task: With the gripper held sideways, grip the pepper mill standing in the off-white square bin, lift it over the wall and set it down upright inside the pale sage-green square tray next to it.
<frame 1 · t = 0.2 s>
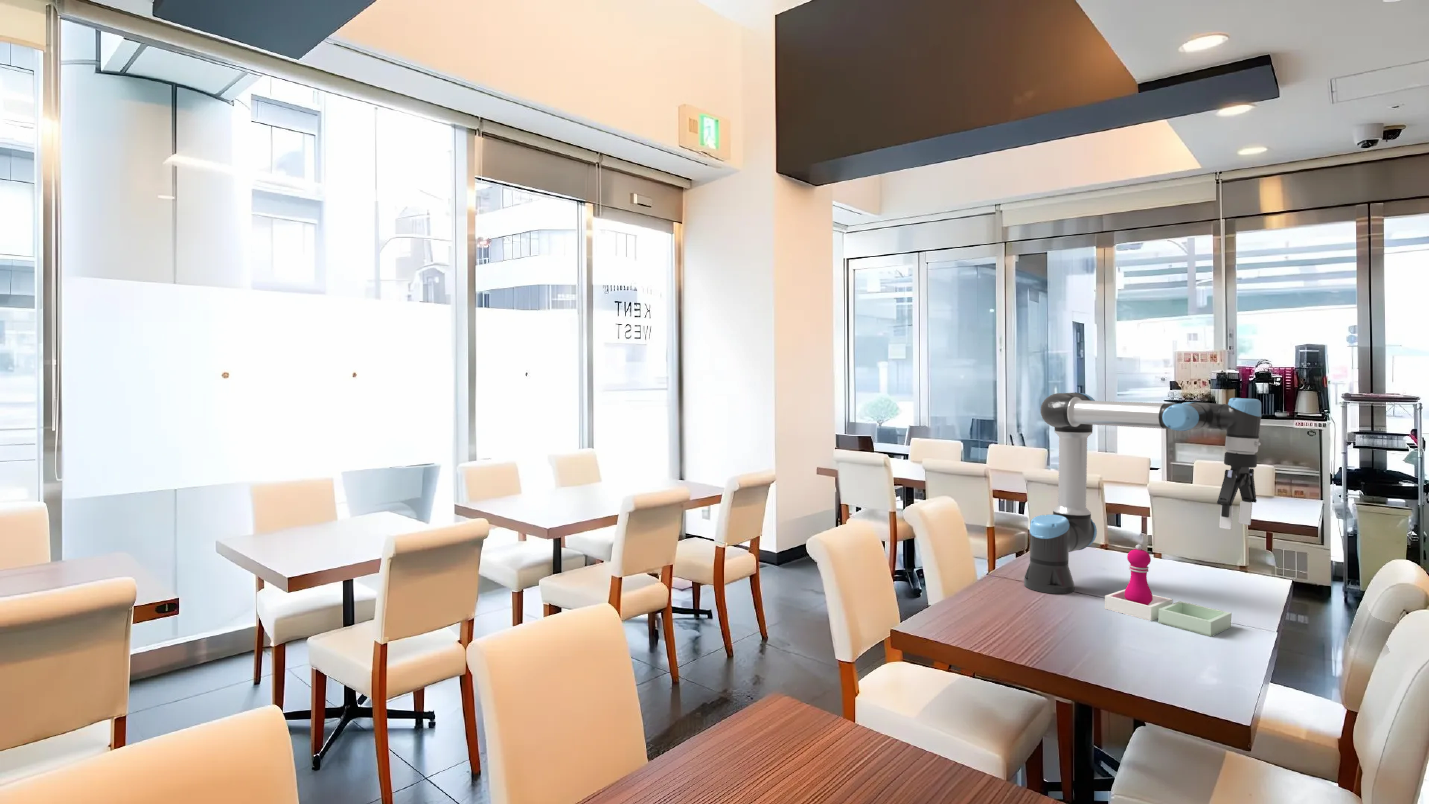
hand: (1235, 526, 200), 27 cm above the table, tool pointing down, fingers open, 13 cm apart
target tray: (1194, 625, 197), on the table
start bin: (1138, 610, 210), on the table
pepper mill: (1138, 611, 210), resting in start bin
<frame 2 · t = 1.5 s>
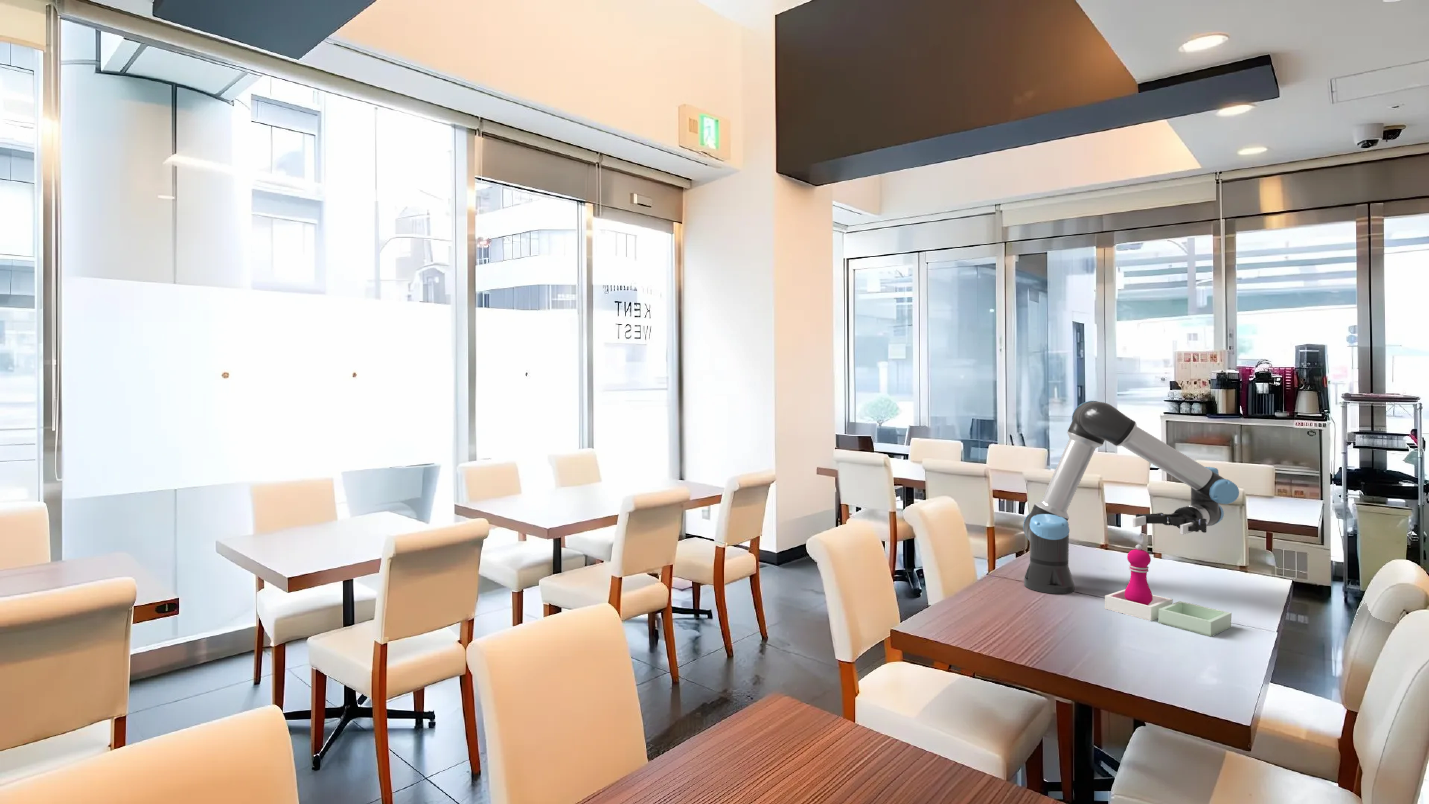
hand: (1157, 526, 215), 24 cm above the table, tool horizontal, fingers open, 13 cm apart
nothing on the table moved.
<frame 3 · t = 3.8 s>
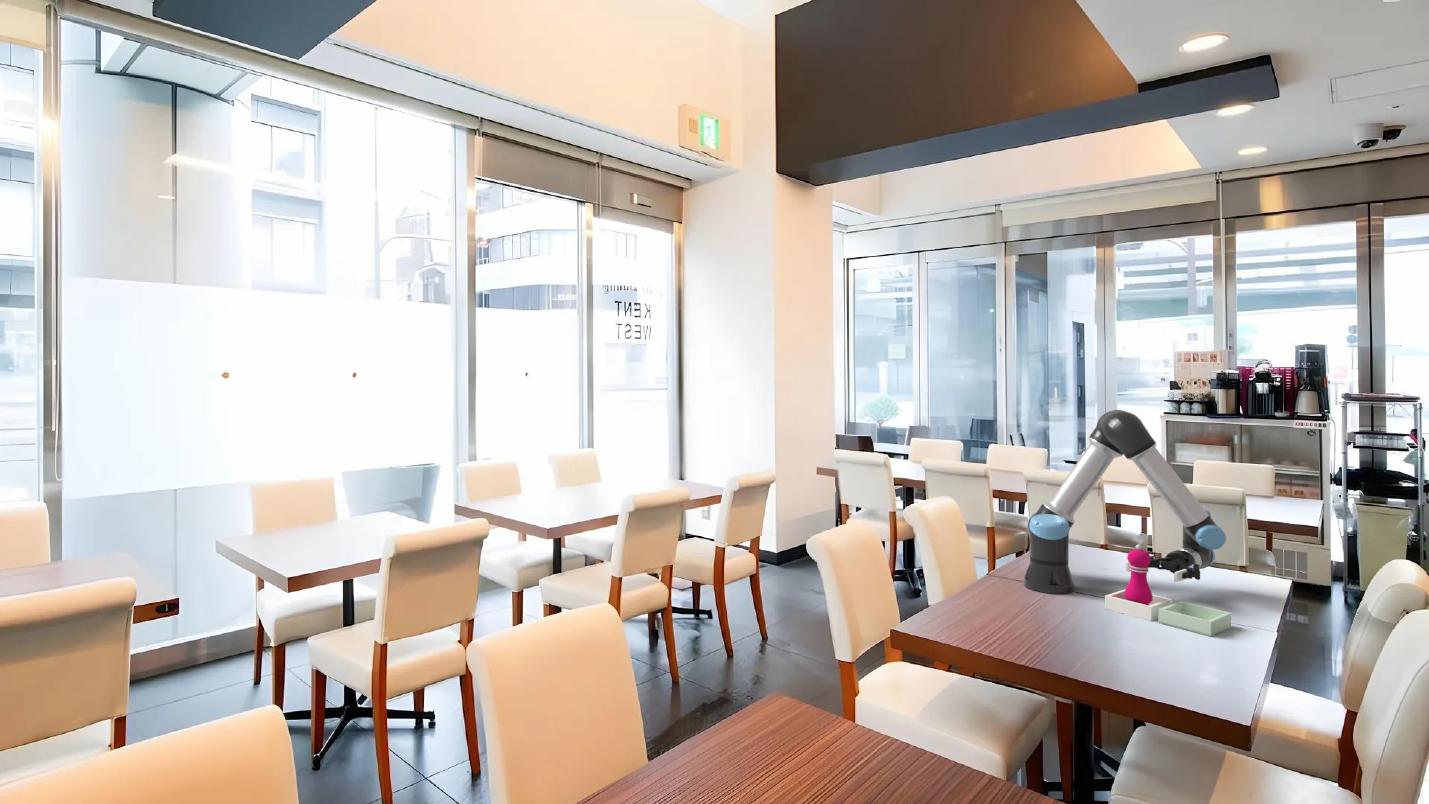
hand: (1150, 572, 212), 11 cm above the table, tool horizontal, fingers open, 13 cm apart
nothing on the table moved.
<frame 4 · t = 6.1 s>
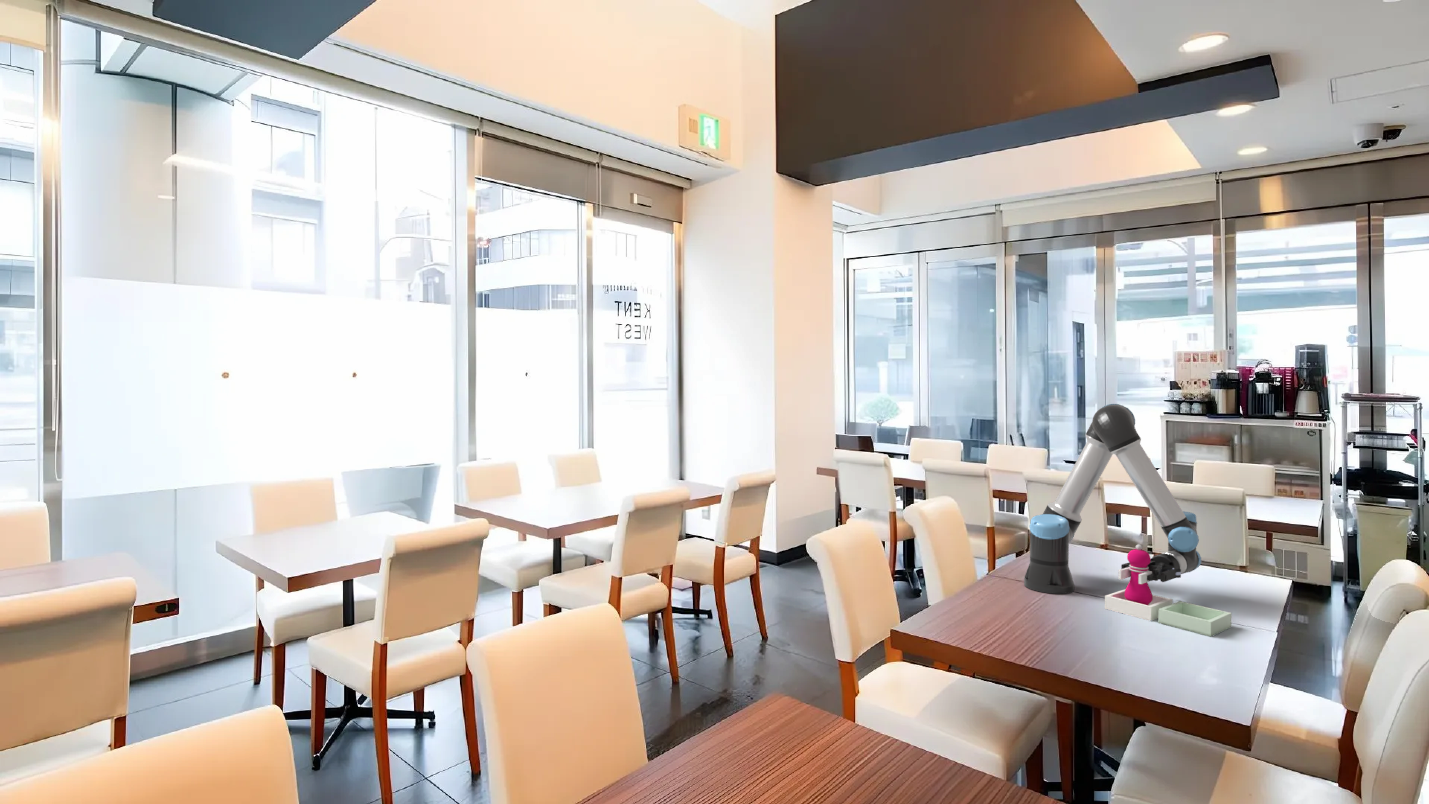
hand: (1129, 577, 207), 11 cm above the table, tool horizontal, fingers closed on pepper mill, 5 cm apart
pepper mill: (1138, 611, 210), resting in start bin, touching gripper
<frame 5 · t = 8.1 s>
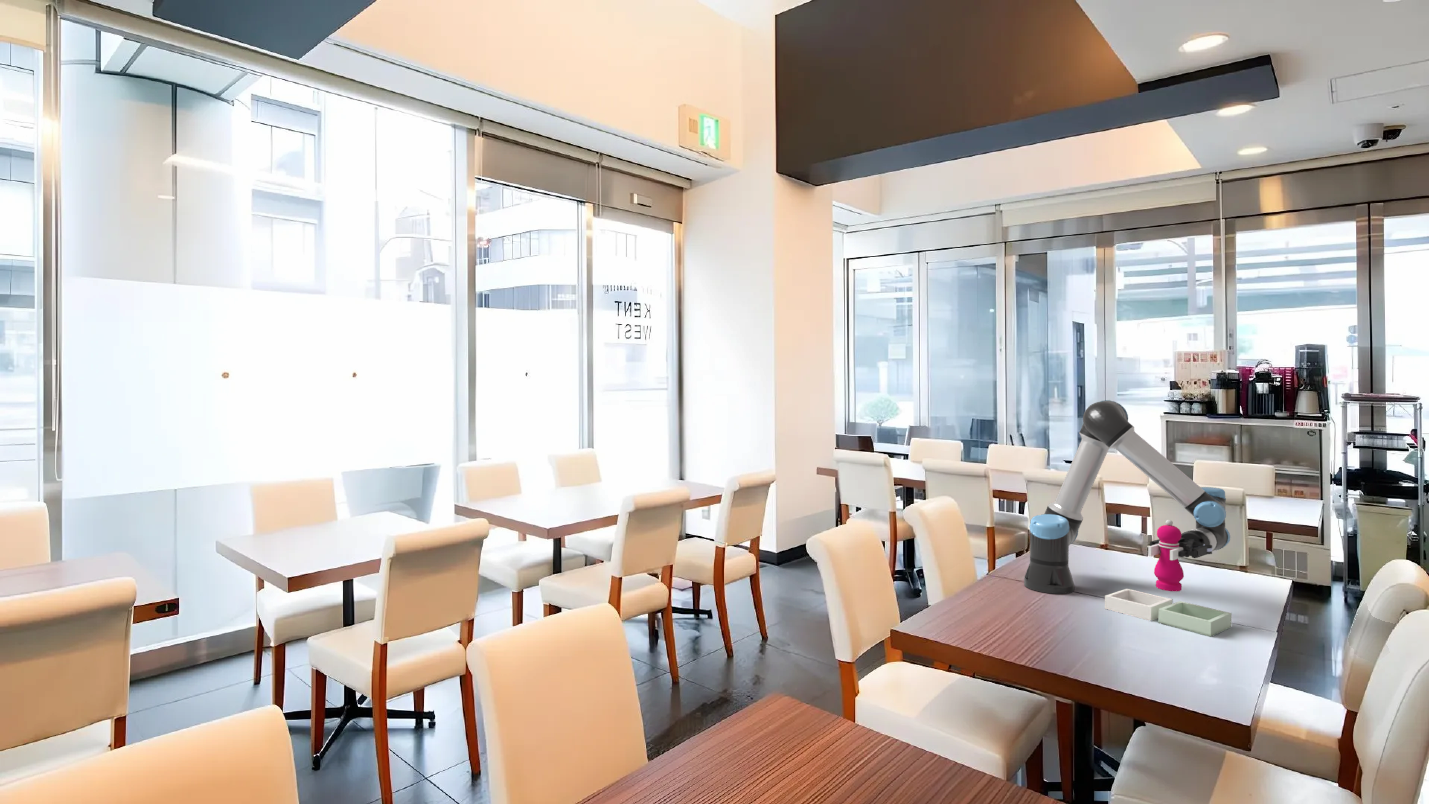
hand: (1160, 553, 200), 20 cm above the table, tool horizontal, fingers closed on pepper mill, 5 cm apart
pepper mill: (1168, 589, 203), point 8 cm above the table, touching gripper
when the fingers open (13 cm above the table, at t = 10.3 s): pepper mill drops 1 cm, resting on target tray.
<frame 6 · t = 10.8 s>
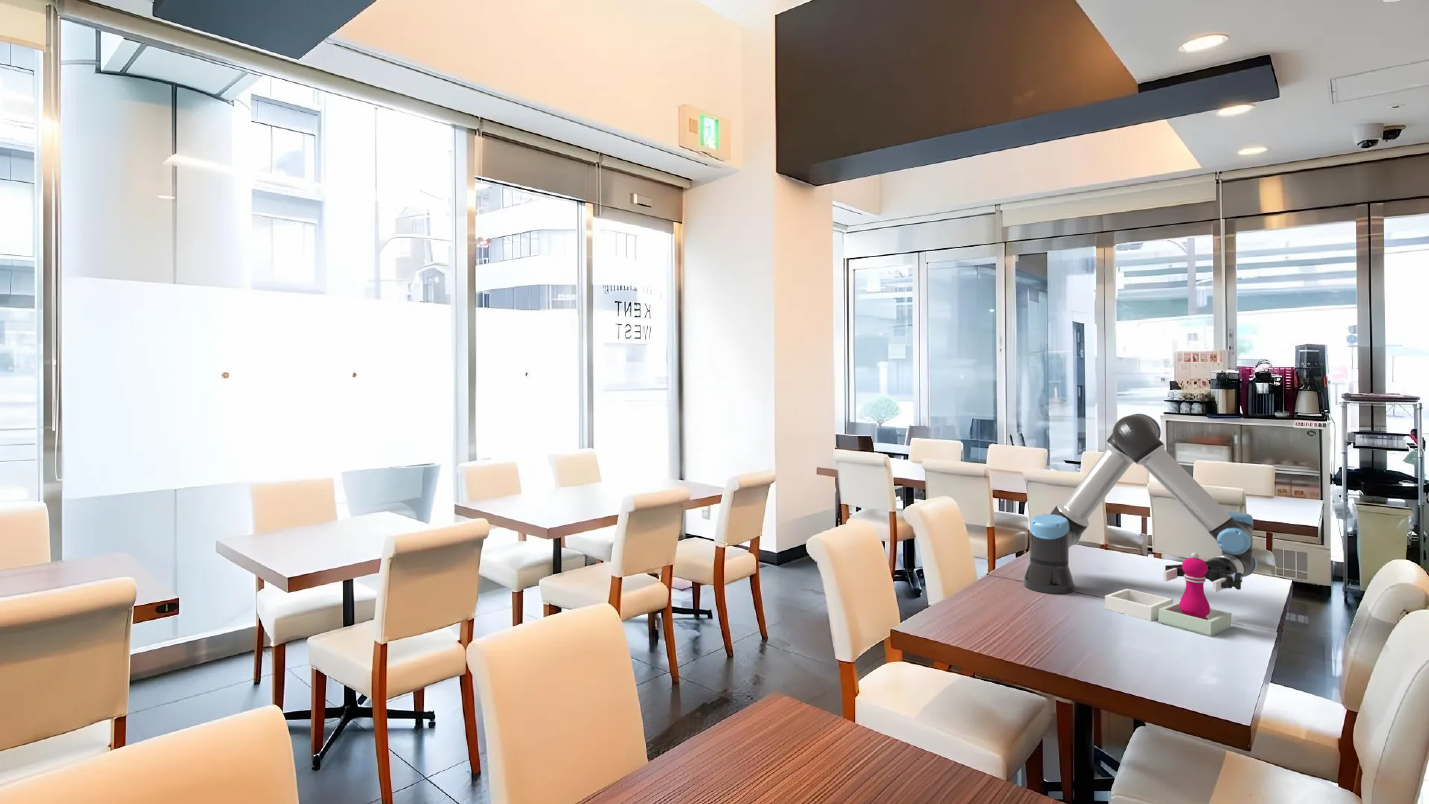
hand: (1188, 581, 195), 13 cm above the table, tool horizontal, fingers open, 11 cm apart
pepper mill: (1194, 623, 197), resting on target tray
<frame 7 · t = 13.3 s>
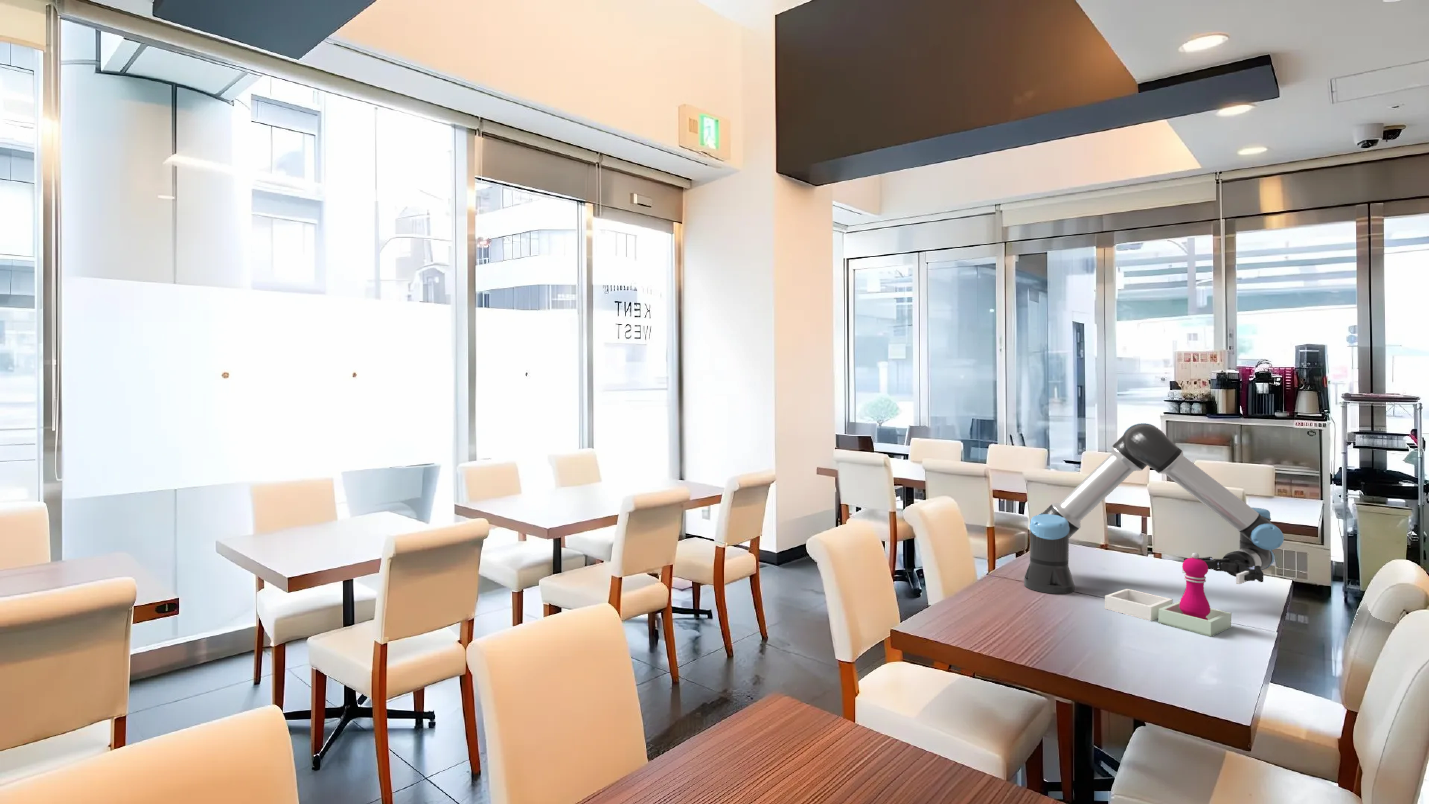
hand: (1210, 573, 202), 13 cm above the table, tool horizontal, fingers open, 13 cm apart
nothing on the table moved.
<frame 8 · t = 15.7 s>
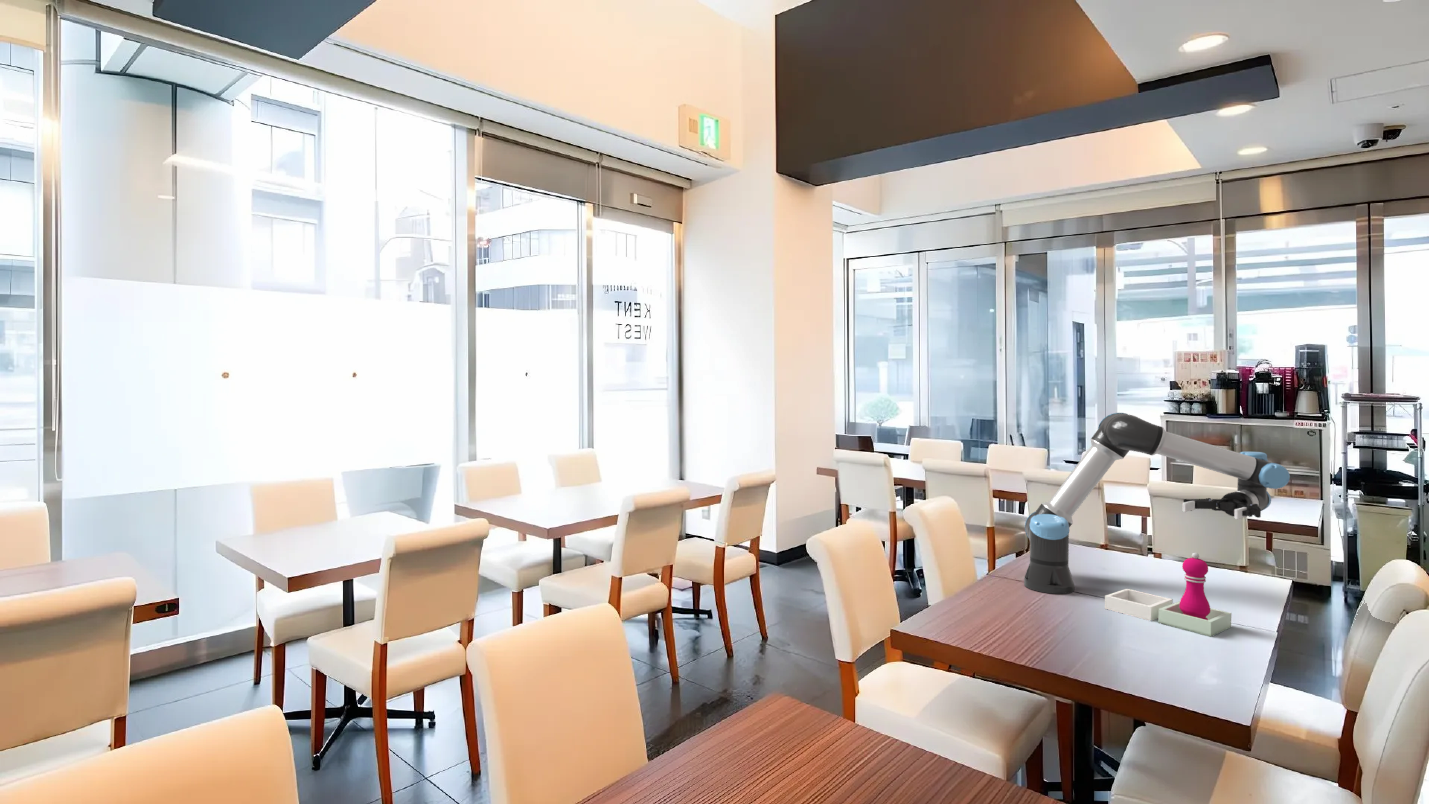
hand: (1209, 510, 209), 30 cm above the table, tool horizontal, fingers open, 13 cm apart
nothing on the table moved.
at the end: pepper mill 0.0 cm from the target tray (horizontally); pepper mill tilted 0°; the gripper is holding nothing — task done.
